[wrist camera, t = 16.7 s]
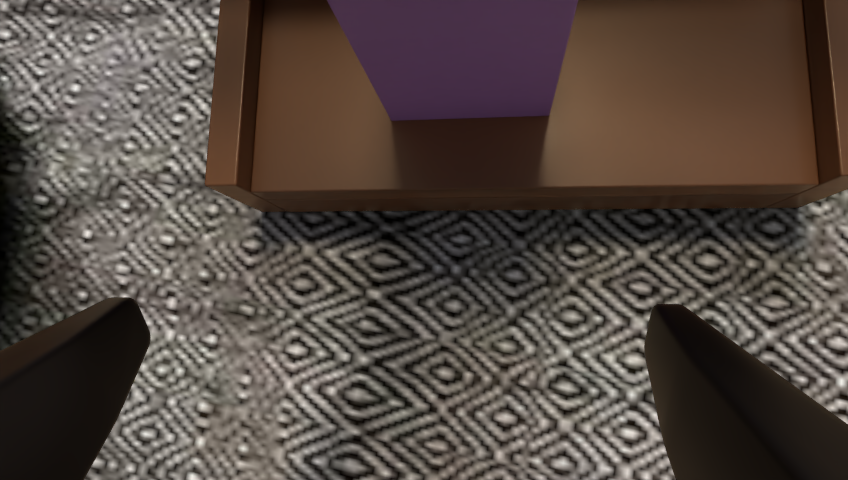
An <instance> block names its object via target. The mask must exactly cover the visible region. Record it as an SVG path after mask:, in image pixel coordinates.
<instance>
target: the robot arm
mask: <svg viewBox="0 0 848 480" xmlns="http://www.w3.org/2000/svg"><path fill="white" fill-rule="evenodd" d="M149 344H150V331H149V329H148V326H147V324H146V322H145V319H144V317H143V315H142V313H141V310H140V308H139V306H138V304H137V302H136V301H135V300H134V299H132V298H120V297H113V298H107V299H105V300H103V301H101V302H99V303H97V304H95V305H93V306H91V307H89V308H87V309H85V310H83V311H81V312H79V313H77V314H74V315H72V316H70V317H68V318H66V319H64V320H62V321H60V322H58V323H56V324H54V325H52V326H50V327H48V328H46V329H44V330H42V331H40V332H38V333H36V334H34V335H32V336H30V337H28V338H26V339H24V340H22V341H20V342H18V343H15V344H13V345H11V346H9V347H7V348H5V349H3V350H1V351H0V480H84V478H85V477H86V475H87V473H88V471H89V469H90V468H91V466H92V464H93V462H94V460H95V459H96V457H97V455H98V453H99V451H100V450H101V448H102V446H103V444H104V442H105V441H106V439H107V437H108V435H109V433H110V432H111V430H112V428H113V426H114V424H115V422H116V420H117V418H118V416H119V414H120V411H121V409H122V407H123V405H124V403H125V400H126V398H127V396H128V393H129V391H130V389H131V386H132V384H133V382H134V379H135V377H136V375H137V373H138V370H139V368H140V366H141V363H142V361H143V359H144V356H145V354H146V352H147V349H148V347H149ZM644 349H645V358H646V363H647V368H648V372H649V377H650V382H651V387H652V391H653V396H654V401H655V405H656V410H657V415H658V420H659V424H660V429H661V433H662V437H663V442H664V445H665V448H666V451H667V455H668V458H669V461H670V464H671V466H672V469H673V472H674V475H675V478H676V480H848V424H846V423H845V422H844V421H842V420H841V419H839V418H838V417H837V416H835V415H834V414H832V413H831V412H830V411H828V410H827V409H826V408H824V407H823V406H821V405H820V404H819V403H817V402H816V401H815V400H813V399H812V398H810V397H809V396H808V395H806V394H805V393H803V392H802V391H801V390H799V389H798V388H797V387H795V386H794V385H792V384H791V383H790V382H788V381H787V380H785V379H784V378H783V377H781V376H780V375H779V374H777V373H776V372H774V371H773V370H772V369H770V368H769V367H767V366H766V365H765V364H763V363H762V362H761V361H759V360H758V359H756V358H755V357H754V356H752V355H751V354H749V353H748V352H747V351H745V350H744V349H743V348H741V347H740V346H738V345H737V344H736V343H734V342H733V341H731V340H730V339H729V338H727V337H726V336H725V335H723V334H722V333H720V332H719V331H718V330H716V329H715V328H714V327H712V326H711V325H709V324H708V323H707V322H705V321H704V320H702V319H701V318H700V317H698V316H697V315H696V314H694V313H693V312H691V311H690V310H689V309H687V308H686V307H684V306H682V305H679V304H657V305H655V306H654V307H653V309H652V311H651V316H650V320H649V325H648V330H647V334H646V339H645V346H644Z"/></svg>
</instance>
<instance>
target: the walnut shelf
mask: <svg viewBox="0 0 848 480" xmlns="http://www.w3.org/2000/svg"><path fill="white" fill-rule="evenodd" d="M205 186H207V187H209V188H211V189H213V190H216V191H218V192H220V193H222V194H224V195H226V196H229V197H231V198H233V199H235V200H237V201H239V202H242V203H244V204H246V205H248V206H250V207H252V208H255V209H257V210H259V211H261V212H286V211H288V212H328V211H451V210H575V209H698V208H765V207H766V208H799V207H801V206H804V205H807V204H809V203H812V202H815V201H817V200H820V199H823V198H825V197H828V196H831V195H833V194H836V193H839V192H841V191H844V190H847V189H848V0H578V3H577V7H576V11H575V15H574V19H573V23H572V27H571V31H570V35H569V39H568V43H567V47H566V51H565V55H564V59H563V63H562V67H561V71H560V75H559V79H558V83H557V87H556V91H555V95H554V99H553V103H552V107H551V111H550V115H549V116H523V117H492V118H461V119H429V120H398V121H392V120H391V119H390V117H389V116H388V114H387V112H386V110H385V108H384V106H383V104H382V103H381V101H380V99H379V97H378V95H377V93H376V91H375V89H374V88H373V86H372V84H371V82H370V80H369V78H368V76H367V74H366V73H365V71H364V69H363V67H362V65H361V63H360V61H359V59H358V58H357V56H356V54H355V52H354V50H353V48H352V46H351V45H350V43H349V41H348V39H347V37H346V35H345V33H344V31H343V30H342V28H341V26H340V24H339V22H338V20H337V18H336V16H335V15H334V13H333V11H332V9H331V7H330V5H329V3H328V1H327V0H221V1H220V13H219V24H218V36H217V48H216V59H215V71H214V83H213V94H212V106H211V118H210V129H209V141H208V153H207V164H206V176H205Z"/></svg>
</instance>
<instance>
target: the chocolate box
mask: <svg viewBox="0 0 848 480" xmlns="http://www.w3.org/2000/svg"><path fill="white" fill-rule="evenodd" d="M327 1H328V3H329V5H330V7H331V9H332V11H333V13H334V15H335V16H336V18H337V20H338V22H339V24H340V26H341V28H342V30H343V31H344V33H345V35H346V37H347V39H348V41H349V43H350V45H351V46H352V48H353V50H354V52H355V54H356V56H357V58H358V59H359V61H360V63H361V65H362V67H363V69H364V71H365V73H366V74H367V76H368V78H369V80H370V82H371V84H372V86H373V88H374V89H375V91H376V93H377V95H378V97H379V99H380V101H381V103H382V104H383V106H384V108H385V110H386V112H387V114H388V116H389V117H390V119H391V120H392V121H398V120H429V119H461V118H492V117H523V116H549V115H550V111H551V107H552V103H553V99H554V95H555V91H556V87H557V83H558V79H559V75H560V71H561V67H562V63H563V59H564V55H565V51H566V47H567V43H568V39H569V35H570V31H571V27H572V23H573V19H574V15H575V11H576V7H577V3H578V0H327Z"/></svg>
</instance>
